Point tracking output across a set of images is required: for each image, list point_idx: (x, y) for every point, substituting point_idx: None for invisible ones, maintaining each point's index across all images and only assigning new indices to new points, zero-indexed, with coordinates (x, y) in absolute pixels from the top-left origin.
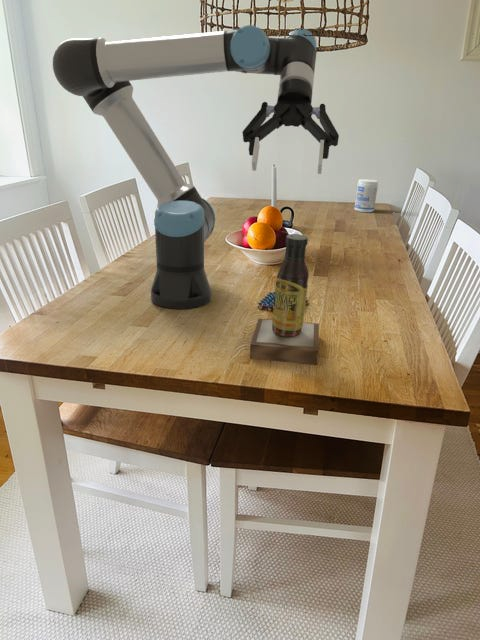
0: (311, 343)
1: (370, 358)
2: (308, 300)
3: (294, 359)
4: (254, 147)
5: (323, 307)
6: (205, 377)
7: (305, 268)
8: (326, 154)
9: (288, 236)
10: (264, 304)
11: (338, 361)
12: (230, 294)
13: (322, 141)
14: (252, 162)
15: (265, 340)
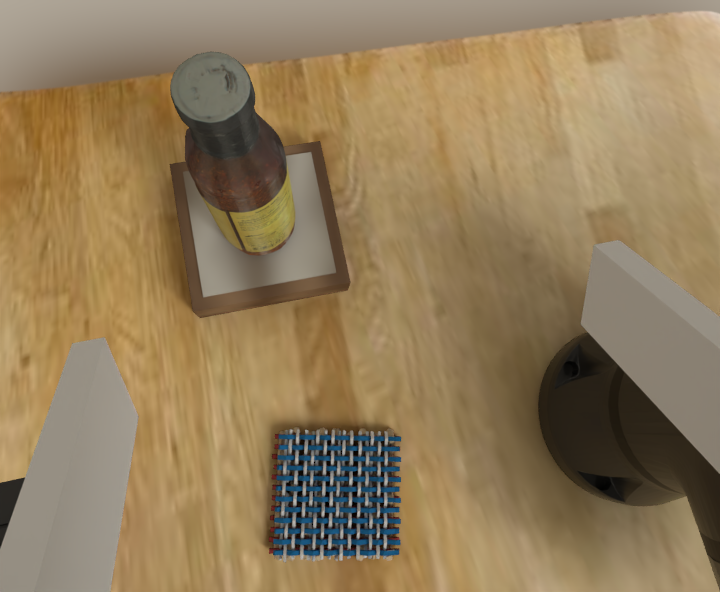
0: (189, 185)
1: (62, 250)
2: (269, 552)
3: None
4: (714, 317)
5: (217, 532)
6: (370, 62)
7: (189, 129)
8: (11, 480)
9: (240, 72)
10: (380, 436)
11: (134, 210)
12: (512, 510)
13: (11, 579)
14: (612, 245)
15: (293, 163)
